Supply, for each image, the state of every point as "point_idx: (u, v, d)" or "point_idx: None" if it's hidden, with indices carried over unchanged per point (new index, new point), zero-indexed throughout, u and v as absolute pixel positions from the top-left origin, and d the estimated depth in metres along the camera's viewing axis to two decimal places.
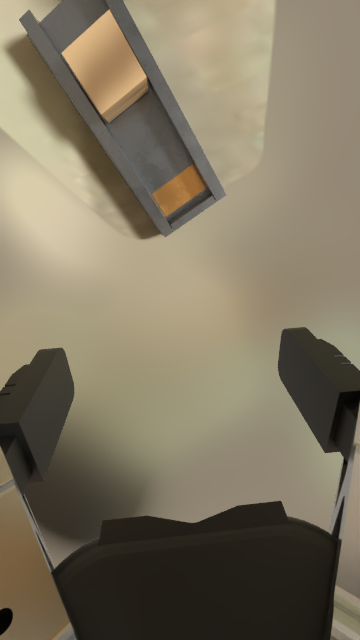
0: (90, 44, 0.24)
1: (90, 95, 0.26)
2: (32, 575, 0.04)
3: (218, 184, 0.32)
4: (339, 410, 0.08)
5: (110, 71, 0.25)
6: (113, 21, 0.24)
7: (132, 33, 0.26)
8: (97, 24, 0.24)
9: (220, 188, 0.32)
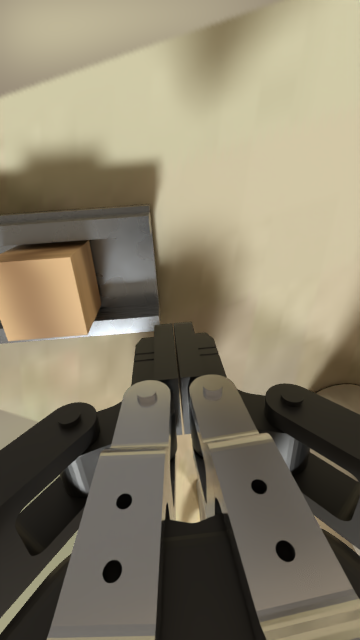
0: (65, 297, 0.18)
1: (9, 263, 0.17)
2: (146, 551, 0.04)
3: None
4: (185, 394, 0.08)
5: (28, 304, 0.18)
6: (75, 333, 0.19)
7: None
8: (79, 315, 0.18)
9: None
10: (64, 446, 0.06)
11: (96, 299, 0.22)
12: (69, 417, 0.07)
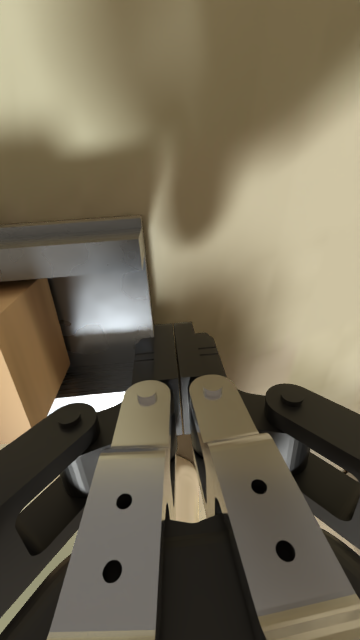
0: None
1: None
2: (146, 551, 0.04)
3: None
4: (185, 394, 0.08)
5: None
6: None
7: None
8: (19, 414, 0.10)
9: None
10: (64, 446, 0.06)
11: (59, 362, 0.14)
12: (68, 417, 0.07)
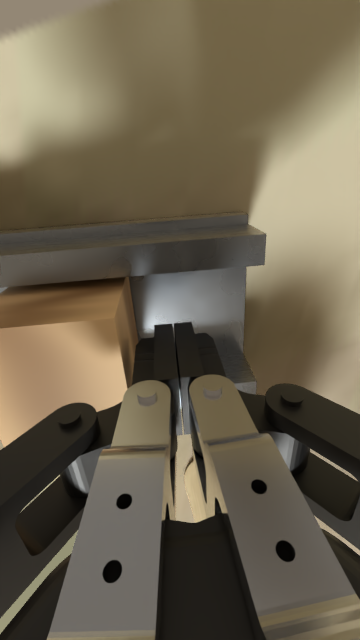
0: (101, 381, 0.10)
1: (3, 331, 0.09)
2: (146, 551, 0.04)
3: None
4: (185, 394, 0.08)
5: (37, 393, 0.10)
6: None
7: None
8: None
9: None
10: (64, 446, 0.06)
11: None
12: (68, 417, 0.07)
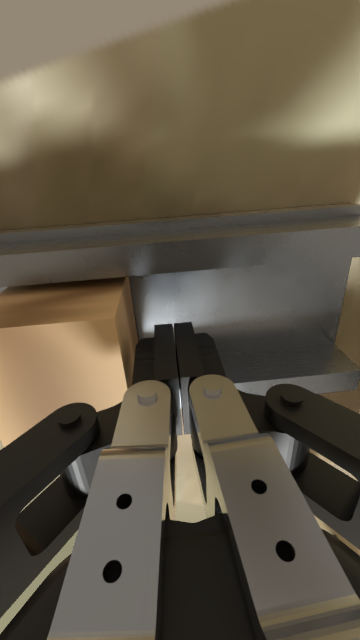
0: (101, 381, 0.10)
1: (3, 331, 0.09)
2: (146, 551, 0.04)
3: None
4: (185, 394, 0.08)
5: (37, 393, 0.10)
6: None
7: (245, 392, 0.15)
8: None
9: None
10: (64, 446, 0.06)
11: None
12: (69, 417, 0.07)
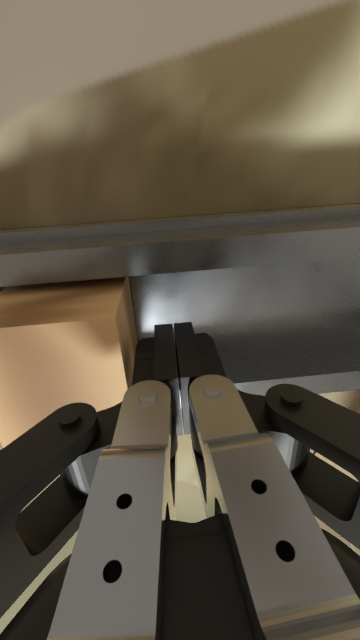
0: (101, 380, 0.10)
1: (3, 331, 0.09)
2: (146, 551, 0.04)
3: None
4: (185, 394, 0.08)
5: (37, 393, 0.10)
6: None
7: (334, 383, 0.15)
8: None
9: None
10: (64, 446, 0.06)
11: None
12: (69, 417, 0.07)
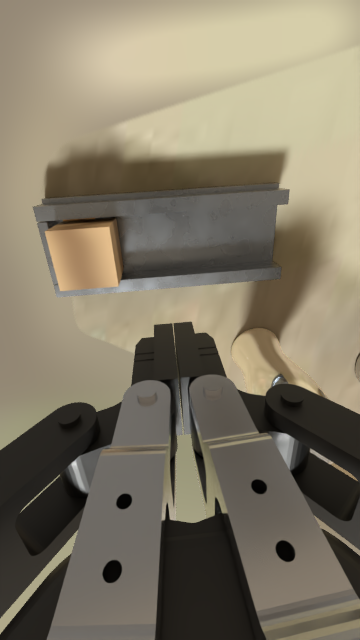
0: (103, 256, 0.24)
1: (65, 231, 0.23)
2: (146, 551, 0.04)
3: (71, 294, 0.28)
4: (185, 394, 0.08)
5: (76, 262, 0.24)
6: (109, 285, 0.25)
7: (222, 278, 0.29)
8: (113, 271, 0.25)
9: (66, 294, 0.28)
10: (64, 446, 0.06)
11: (121, 263, 0.29)
12: (68, 417, 0.07)
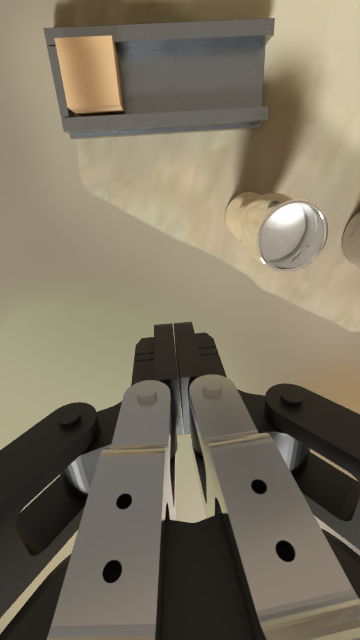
0: (106, 69, 0.27)
1: (72, 39, 0.26)
2: (146, 551, 0.04)
3: (76, 128, 0.31)
4: (185, 394, 0.08)
5: (82, 74, 0.27)
6: (112, 102, 0.28)
7: (215, 116, 0.32)
8: (115, 86, 0.28)
9: (72, 129, 0.31)
10: (64, 446, 0.06)
11: (122, 101, 0.31)
12: (69, 417, 0.07)
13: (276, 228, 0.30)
